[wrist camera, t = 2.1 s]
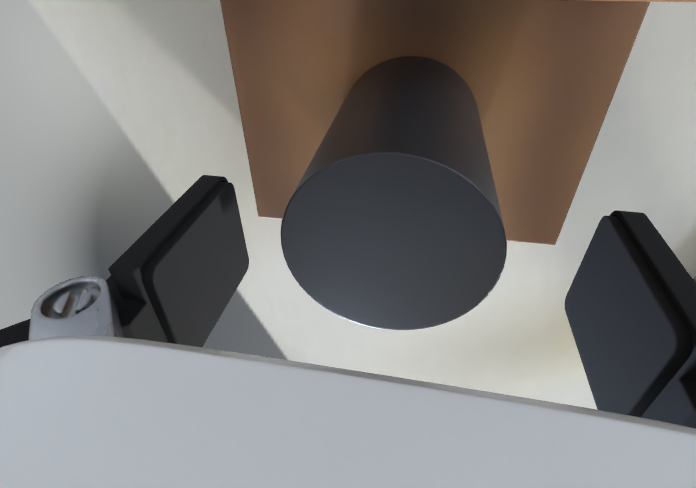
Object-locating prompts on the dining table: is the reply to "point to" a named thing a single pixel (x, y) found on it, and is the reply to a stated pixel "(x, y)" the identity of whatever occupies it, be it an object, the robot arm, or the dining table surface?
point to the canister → (399, 203)
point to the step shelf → (455, 52)
